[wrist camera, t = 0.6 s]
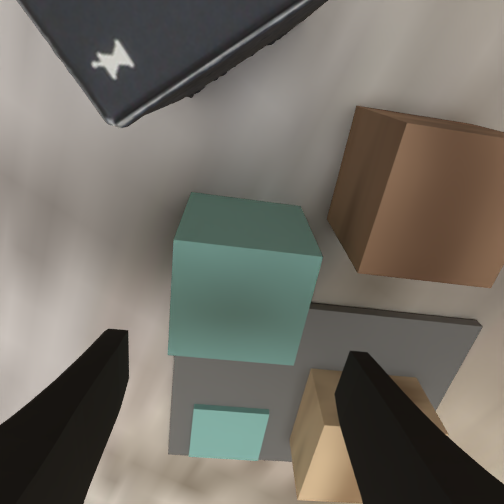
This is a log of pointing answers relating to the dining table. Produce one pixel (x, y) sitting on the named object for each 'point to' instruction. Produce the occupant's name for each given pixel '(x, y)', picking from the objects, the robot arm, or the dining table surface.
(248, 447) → the swatch
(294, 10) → the small box
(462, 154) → the walnut block
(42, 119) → the dining table surface
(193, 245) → the teal block
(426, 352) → the placemat
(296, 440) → the oak block
